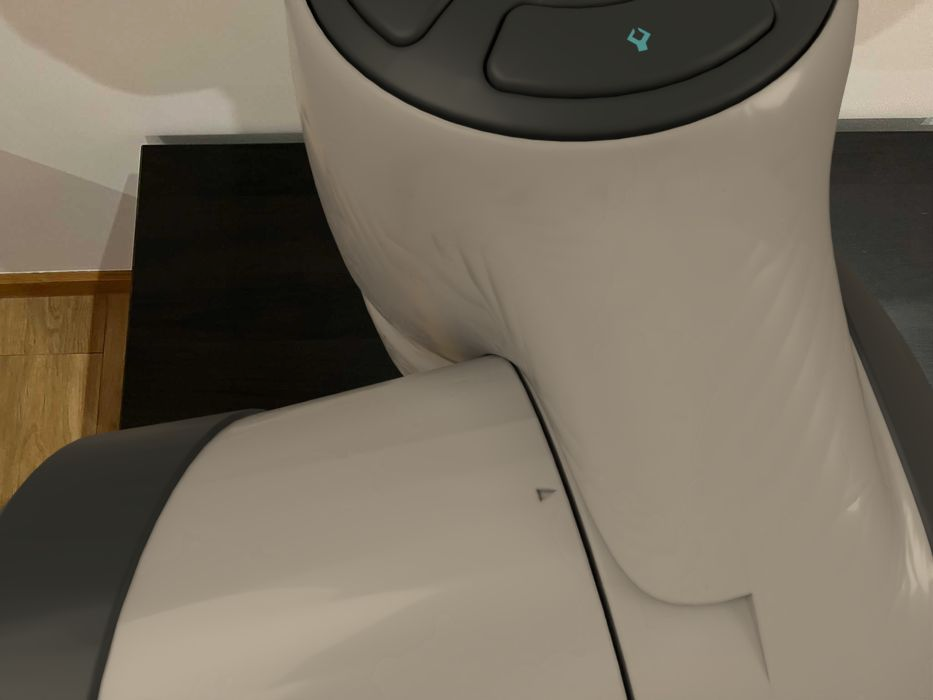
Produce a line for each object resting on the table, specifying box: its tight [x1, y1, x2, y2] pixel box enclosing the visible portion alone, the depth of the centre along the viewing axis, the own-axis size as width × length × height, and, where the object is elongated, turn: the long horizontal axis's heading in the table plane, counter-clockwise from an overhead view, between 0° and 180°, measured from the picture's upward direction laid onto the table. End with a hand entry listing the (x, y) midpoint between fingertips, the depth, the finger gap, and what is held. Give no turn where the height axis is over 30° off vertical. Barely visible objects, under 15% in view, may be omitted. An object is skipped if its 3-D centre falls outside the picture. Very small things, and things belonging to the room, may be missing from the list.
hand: (483, 363), depth 37 cm, fingers open, 8 cm apart
